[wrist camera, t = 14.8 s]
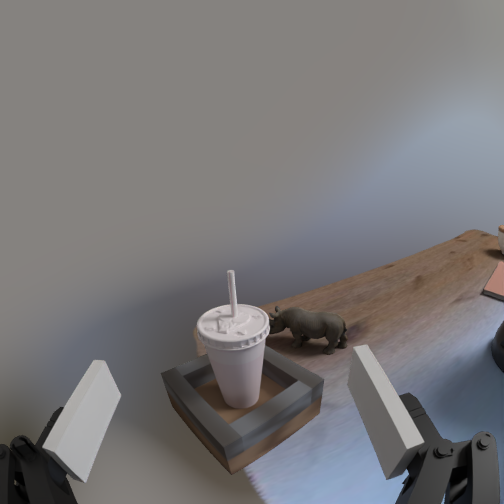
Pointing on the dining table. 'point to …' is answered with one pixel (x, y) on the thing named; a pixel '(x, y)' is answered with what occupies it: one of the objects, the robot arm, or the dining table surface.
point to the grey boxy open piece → (247, 419)
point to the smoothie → (235, 347)
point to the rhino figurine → (310, 326)
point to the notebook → (496, 283)
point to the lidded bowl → (501, 238)
